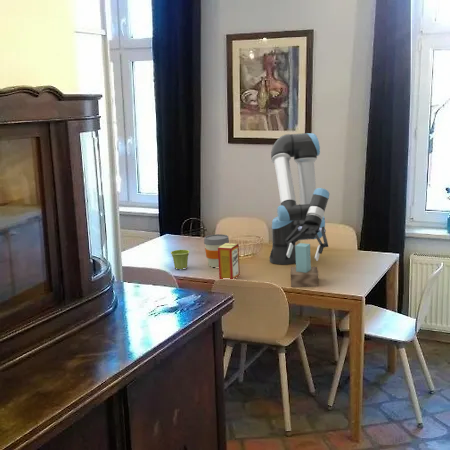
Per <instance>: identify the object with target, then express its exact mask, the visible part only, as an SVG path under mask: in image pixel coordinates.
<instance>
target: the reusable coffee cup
mask: <svg viewBox="0 0 450 450" xmlns="http://www.w3.org/2000/svg"><path fill="white" fill-rule="evenodd" d="M203 240H204V241H203V243H204V245H205V247H204V251H205V255H206V256H205V257H206V258H207V262H208V267H209V266H211V267H219V260H218V247H220V246H222V245H223V244H225V243H230V239H229V235H226V234H222V233H221V234H219V233H218V234H209V235H206V236H204V239H203ZM211 267H210V268H211Z"/></svg>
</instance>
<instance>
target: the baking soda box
mask: <svg viewBox="0 0 450 450" xmlns="http://www.w3.org/2000/svg"><path fill="white" fill-rule="evenodd" d="M218 260H219V268H218V274H219V275H218V279H223V278H230V279H233V278H236V277H237V278H238V277H240V276H241V274H240V273H241V272H240V271H241V270H240V268H241V267H240V247H239V243H234V242H229V243H225V244H223V245H222V246H220V247H218ZM239 275H240V276H239ZM237 278H236V279H237Z"/></svg>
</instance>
